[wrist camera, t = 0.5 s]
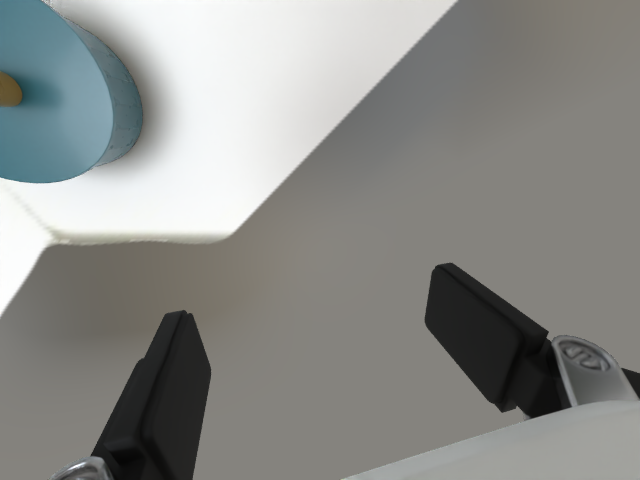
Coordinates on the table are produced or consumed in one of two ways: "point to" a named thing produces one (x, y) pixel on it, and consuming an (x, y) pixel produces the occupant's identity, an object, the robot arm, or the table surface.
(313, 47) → the table surface
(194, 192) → the table surface
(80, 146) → the lid
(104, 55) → the tin
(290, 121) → the table surface
